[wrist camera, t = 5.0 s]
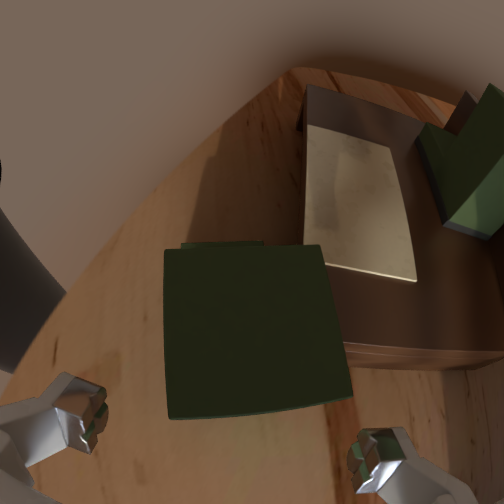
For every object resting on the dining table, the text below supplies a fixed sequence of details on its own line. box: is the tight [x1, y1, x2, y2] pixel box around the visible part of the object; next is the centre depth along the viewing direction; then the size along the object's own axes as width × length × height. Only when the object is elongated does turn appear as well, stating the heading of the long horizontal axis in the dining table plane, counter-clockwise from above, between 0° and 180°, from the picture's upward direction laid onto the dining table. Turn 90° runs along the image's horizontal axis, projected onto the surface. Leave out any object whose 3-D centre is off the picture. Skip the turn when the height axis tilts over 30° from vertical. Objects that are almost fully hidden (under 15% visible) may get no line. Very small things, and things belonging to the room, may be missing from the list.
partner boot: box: [414, 83, 504, 241], centre depth 17 cm, size 5×10×10 cm, turn 172°
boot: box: [163, 241, 353, 420], centre depth 14 cm, size 5×10×10 cm, turn 7°
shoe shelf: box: [296, 84, 504, 371], centre depth 20 cm, size 17×24×11 cm
